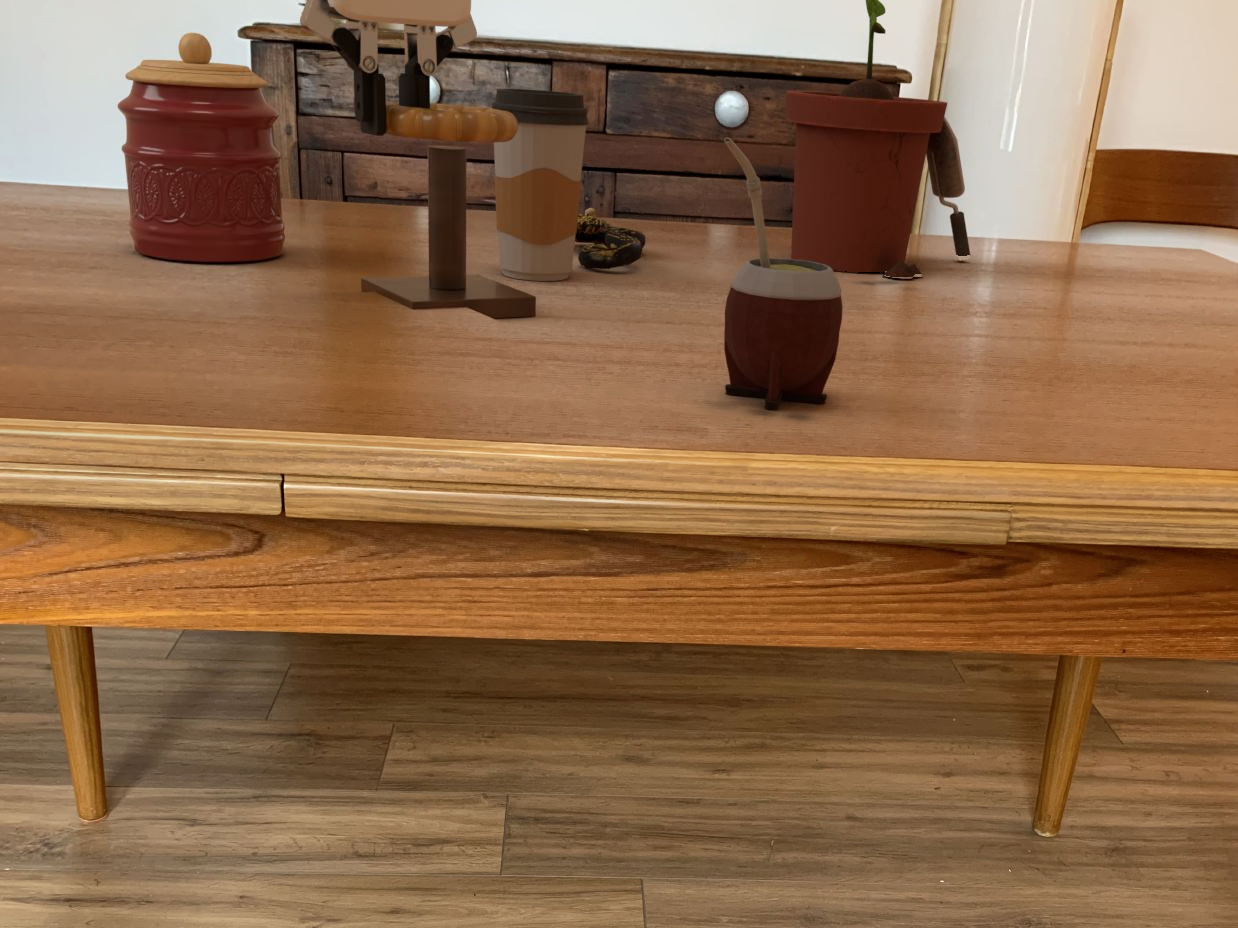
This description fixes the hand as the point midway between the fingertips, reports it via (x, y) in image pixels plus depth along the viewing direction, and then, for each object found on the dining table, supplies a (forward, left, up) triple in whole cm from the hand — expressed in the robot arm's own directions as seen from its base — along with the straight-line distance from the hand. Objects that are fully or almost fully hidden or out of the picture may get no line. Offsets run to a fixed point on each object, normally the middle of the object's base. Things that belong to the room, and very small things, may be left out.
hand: (393, 132), depth 96 cm
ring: (+4, 0, +1) cm, 4 cm away
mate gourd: (+11, -32, -13) cm, 36 cm away
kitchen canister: (-6, +28, -13) cm, 31 cm away
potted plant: (+57, +11, -13) cm, 60 cm away
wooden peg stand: (+4, 0, -12) cm, 13 cm away
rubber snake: (+29, +20, -13) cm, 38 cm away
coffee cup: (+18, +12, -13) cm, 25 cm away
